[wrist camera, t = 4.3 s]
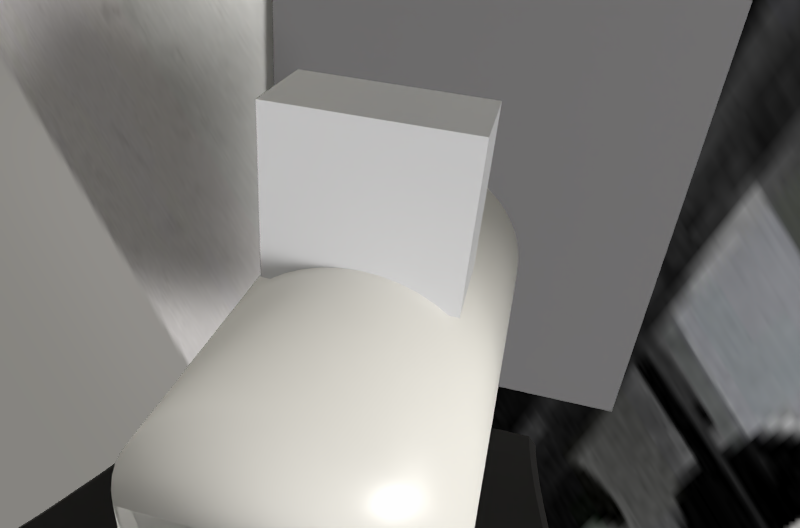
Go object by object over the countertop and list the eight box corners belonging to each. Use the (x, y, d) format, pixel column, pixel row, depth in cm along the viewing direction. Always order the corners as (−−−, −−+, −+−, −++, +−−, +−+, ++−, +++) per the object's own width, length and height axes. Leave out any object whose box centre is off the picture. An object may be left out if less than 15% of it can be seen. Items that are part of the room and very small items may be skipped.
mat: (611, 404, 19) (611, 411, 19) (281, 331, 21) (277, 337, 20) (749, -2, 13) (752, 0, 13) (276, -61, 15) (271, -60, 15)
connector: (457, 559, 13) (395, 895, 9) (308, 519, 13) (179, 820, 9) (562, 57, 8) (536, 278, 4) (317, 22, 8) (43, 181, 4)
